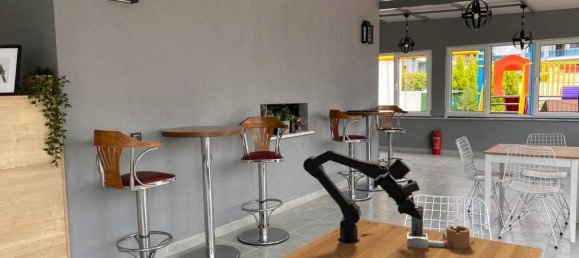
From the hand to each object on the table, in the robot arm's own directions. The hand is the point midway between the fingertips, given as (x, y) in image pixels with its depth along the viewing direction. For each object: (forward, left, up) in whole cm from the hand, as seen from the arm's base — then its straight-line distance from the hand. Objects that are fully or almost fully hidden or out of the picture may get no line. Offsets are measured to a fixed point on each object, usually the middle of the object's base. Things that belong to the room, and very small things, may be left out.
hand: (420, 217), depth 176 cm
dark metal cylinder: (-1, +1, -7) cm, 7 cm away
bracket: (+15, -5, -12) cm, 19 cm away
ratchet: (+3, -3, -11) cm, 12 cm away
